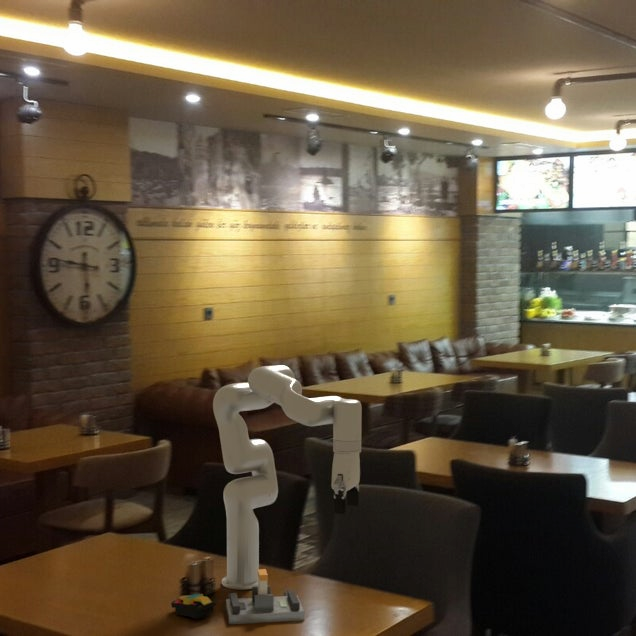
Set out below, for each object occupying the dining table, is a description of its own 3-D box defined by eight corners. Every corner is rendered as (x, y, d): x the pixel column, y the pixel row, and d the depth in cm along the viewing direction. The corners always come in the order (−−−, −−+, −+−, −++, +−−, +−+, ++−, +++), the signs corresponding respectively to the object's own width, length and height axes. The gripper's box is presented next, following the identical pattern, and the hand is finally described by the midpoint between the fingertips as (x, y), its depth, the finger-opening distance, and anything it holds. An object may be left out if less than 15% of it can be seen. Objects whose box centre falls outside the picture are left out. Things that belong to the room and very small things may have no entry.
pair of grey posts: (228, 599, 272) (228, 585, 271) (290, 596, 275) (290, 581, 274) (233, 622, 254) (233, 606, 254) (299, 618, 257) (299, 602, 256)
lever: (257, 600, 263) (257, 568, 262) (265, 600, 263) (265, 568, 263) (259, 608, 257) (259, 575, 256) (267, 607, 257) (267, 575, 257)
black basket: (185, 611, 265) (183, 591, 265) (218, 615, 257) (216, 594, 257) (167, 617, 260) (165, 597, 261) (200, 621, 252) (198, 600, 252)
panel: (225, 607, 265) (225, 584, 265) (297, 604, 268) (297, 581, 268) (229, 624, 252) (229, 600, 252) (304, 620, 255) (304, 596, 255)
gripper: (345, 439, 265) (344, 501, 266) (322, 450, 249) (321, 515, 250) (371, 441, 263) (370, 503, 263) (349, 452, 247) (348, 518, 247)
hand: (346, 509), depth 257 cm, fingers open, 9 cm apart
